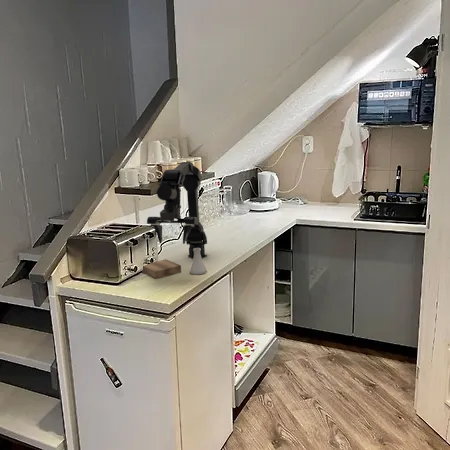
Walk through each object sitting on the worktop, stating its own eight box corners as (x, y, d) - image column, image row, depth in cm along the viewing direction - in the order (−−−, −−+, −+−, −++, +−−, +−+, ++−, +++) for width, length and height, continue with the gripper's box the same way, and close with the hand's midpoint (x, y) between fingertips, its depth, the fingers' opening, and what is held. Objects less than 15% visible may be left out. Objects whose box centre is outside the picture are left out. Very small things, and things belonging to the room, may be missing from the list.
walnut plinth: (166, 265, 197) (165, 259, 197) (181, 272, 188) (180, 265, 187) (141, 272, 190) (140, 265, 189) (155, 279, 181) (155, 271, 180)
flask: (206, 269, 191) (205, 246, 189) (206, 274, 184) (205, 251, 182) (189, 270, 191) (188, 247, 188) (188, 275, 184) (187, 251, 181)
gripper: (141, 200, 168) (141, 243, 167) (190, 200, 164) (190, 244, 163) (152, 203, 179) (151, 243, 178) (198, 203, 175) (198, 243, 174)
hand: (172, 243), depth 173 cm, fingers open, 9 cm apart
